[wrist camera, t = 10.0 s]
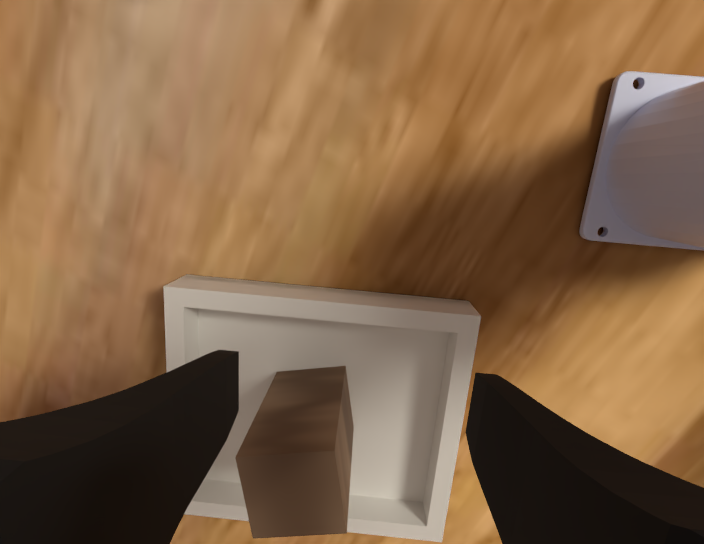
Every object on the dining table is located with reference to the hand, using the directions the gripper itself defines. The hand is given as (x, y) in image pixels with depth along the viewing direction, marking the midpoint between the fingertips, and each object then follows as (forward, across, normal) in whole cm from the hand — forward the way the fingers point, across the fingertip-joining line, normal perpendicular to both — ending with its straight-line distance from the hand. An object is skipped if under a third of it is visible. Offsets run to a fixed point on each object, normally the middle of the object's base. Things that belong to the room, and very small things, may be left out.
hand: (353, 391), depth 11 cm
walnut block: (+10, +2, +6) cm, 12 cm away
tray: (+10, +2, +7) cm, 13 cm away
